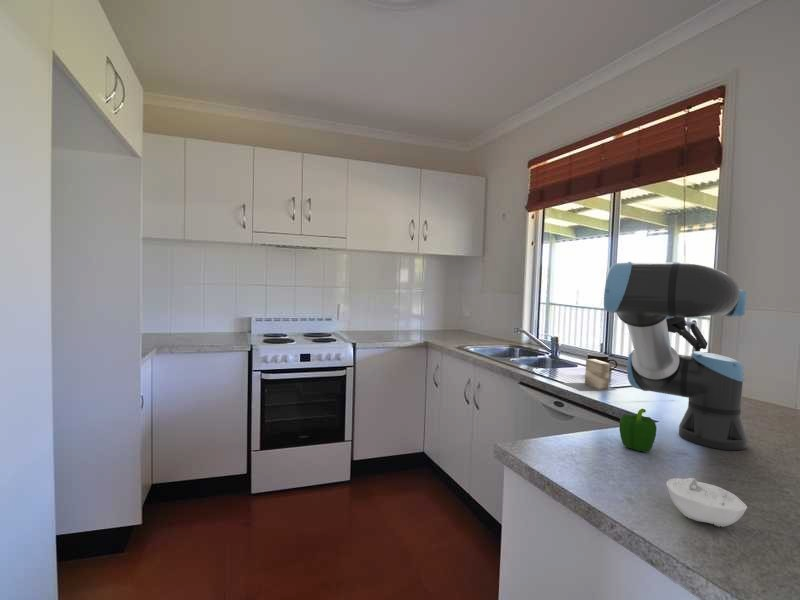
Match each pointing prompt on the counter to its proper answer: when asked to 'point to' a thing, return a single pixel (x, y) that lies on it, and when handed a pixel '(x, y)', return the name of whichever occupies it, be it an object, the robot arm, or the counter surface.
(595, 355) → the coffee mug
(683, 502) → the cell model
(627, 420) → the bell pepper
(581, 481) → the counter surface
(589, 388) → the mat
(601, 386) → the birch block
